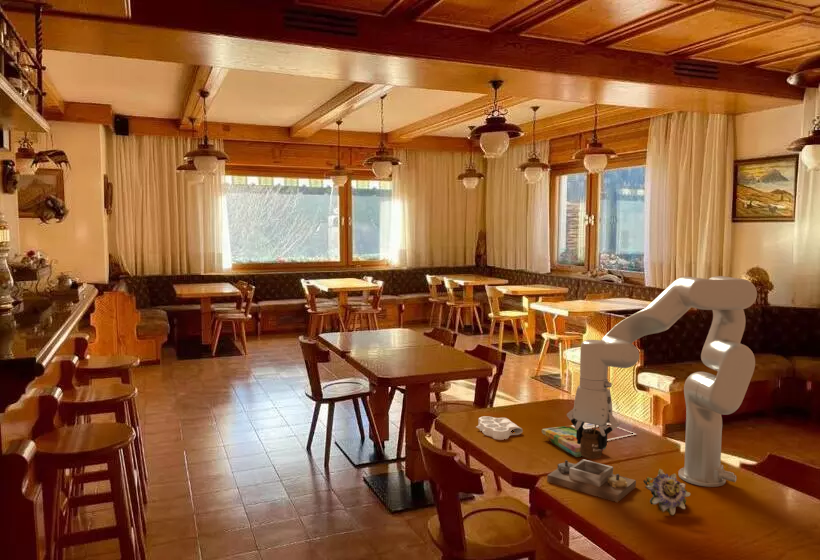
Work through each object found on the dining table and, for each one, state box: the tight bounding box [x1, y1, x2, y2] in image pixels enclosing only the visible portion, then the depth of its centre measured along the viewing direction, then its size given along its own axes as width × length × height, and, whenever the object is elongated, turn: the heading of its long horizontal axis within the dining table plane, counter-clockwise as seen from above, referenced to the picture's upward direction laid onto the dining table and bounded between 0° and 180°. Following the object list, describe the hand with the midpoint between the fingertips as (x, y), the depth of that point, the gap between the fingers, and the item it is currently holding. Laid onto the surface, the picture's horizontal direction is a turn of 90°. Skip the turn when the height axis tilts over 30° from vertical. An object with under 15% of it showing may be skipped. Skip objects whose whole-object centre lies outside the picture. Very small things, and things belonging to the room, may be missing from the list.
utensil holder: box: [580, 419, 603, 460], centre depth 176 cm, size 6×6×12 cm
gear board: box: [546, 458, 637, 503], centre depth 177 cm, size 21×13×5 cm, turn 49°
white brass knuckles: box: [475, 415, 524, 441], centre depth 224 cm, size 3×18×15 cm
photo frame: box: [570, 422, 637, 442], centre depth 224 cm, size 15×1×18 cm
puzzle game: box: [541, 425, 607, 458], centre depth 208 cm, size 12×5×20 cm
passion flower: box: [643, 468, 691, 516], centre depth 163 cm, size 11×11×12 cm
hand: (591, 444), depth 176 cm, fingers closed on utensil holder, 5 cm apart
